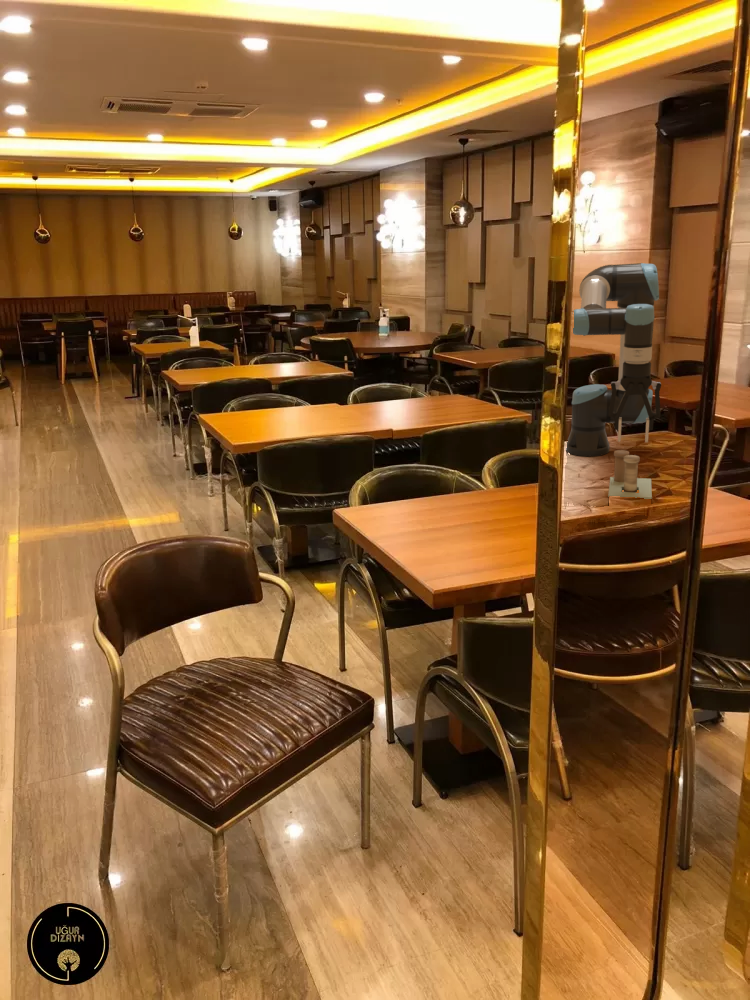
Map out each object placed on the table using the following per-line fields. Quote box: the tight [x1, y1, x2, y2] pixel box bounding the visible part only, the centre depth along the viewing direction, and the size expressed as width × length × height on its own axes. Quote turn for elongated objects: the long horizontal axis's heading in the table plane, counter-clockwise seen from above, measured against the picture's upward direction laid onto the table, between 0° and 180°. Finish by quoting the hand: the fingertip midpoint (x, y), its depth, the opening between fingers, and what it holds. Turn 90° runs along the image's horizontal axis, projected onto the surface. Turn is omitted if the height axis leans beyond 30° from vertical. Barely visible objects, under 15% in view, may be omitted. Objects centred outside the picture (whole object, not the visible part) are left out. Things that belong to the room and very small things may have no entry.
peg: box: [624, 454, 641, 493], centre depth 239 cm, size 4×4×14 cm
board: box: [607, 449, 653, 500], centre depth 242 cm, size 17×12×13 cm
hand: (632, 440), depth 235 cm, fingers open, 7 cm apart
